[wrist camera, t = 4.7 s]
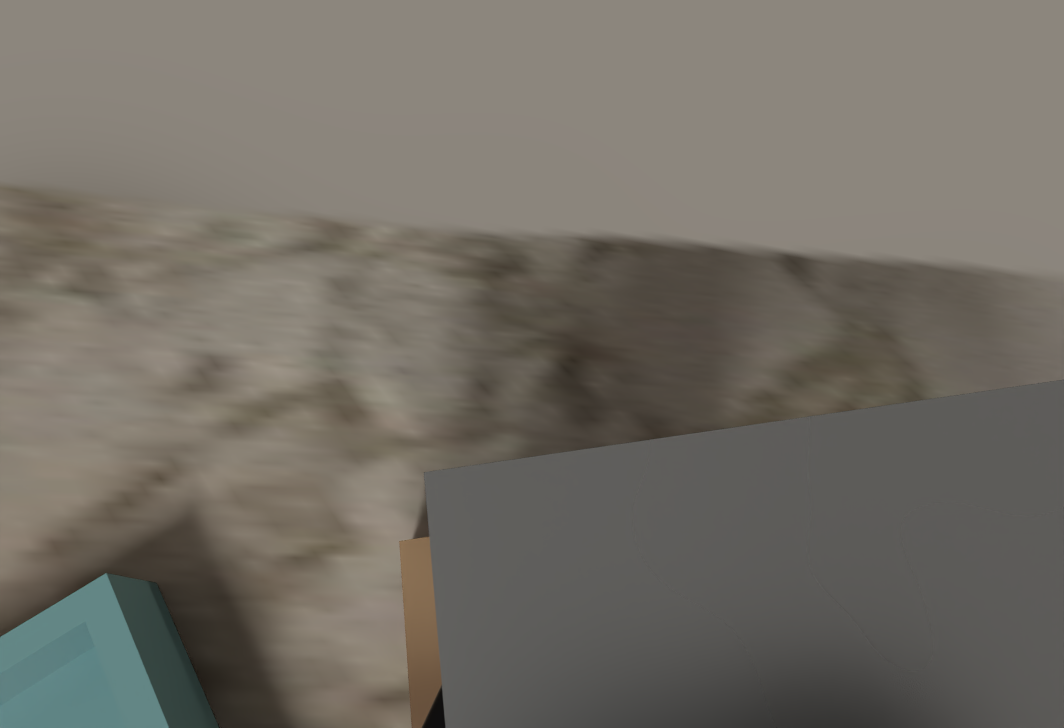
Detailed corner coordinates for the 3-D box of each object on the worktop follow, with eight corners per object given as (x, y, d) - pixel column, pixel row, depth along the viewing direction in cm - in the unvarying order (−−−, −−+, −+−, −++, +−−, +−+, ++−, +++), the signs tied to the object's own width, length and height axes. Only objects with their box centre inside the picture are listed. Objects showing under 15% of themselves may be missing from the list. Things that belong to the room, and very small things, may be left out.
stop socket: (826, 885, 15) (858, 909, 14) (438, 965, 15) (430, 998, 13) (720, 501, 19) (737, 489, 18) (408, 549, 19) (399, 541, 17)
